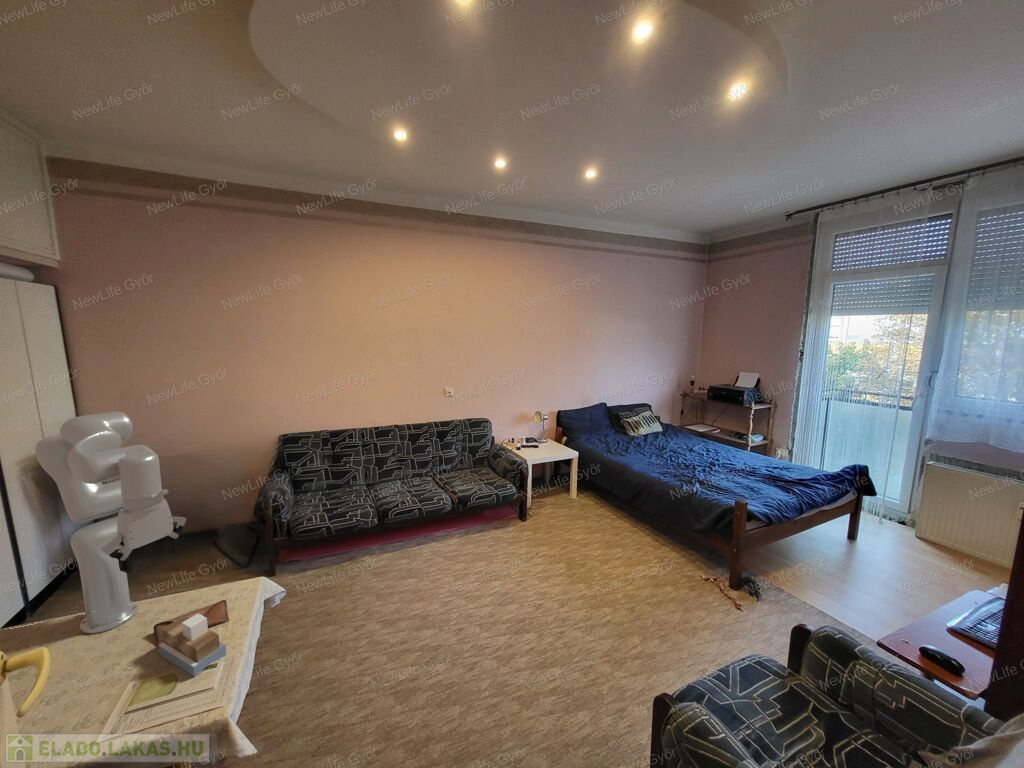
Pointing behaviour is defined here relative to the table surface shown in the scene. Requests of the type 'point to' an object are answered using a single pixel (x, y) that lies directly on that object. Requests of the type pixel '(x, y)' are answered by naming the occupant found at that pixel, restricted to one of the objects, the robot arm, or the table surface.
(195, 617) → the small white cube
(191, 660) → the block
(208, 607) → the sunglasses case
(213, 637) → the curved wooden block
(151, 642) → the table surface
